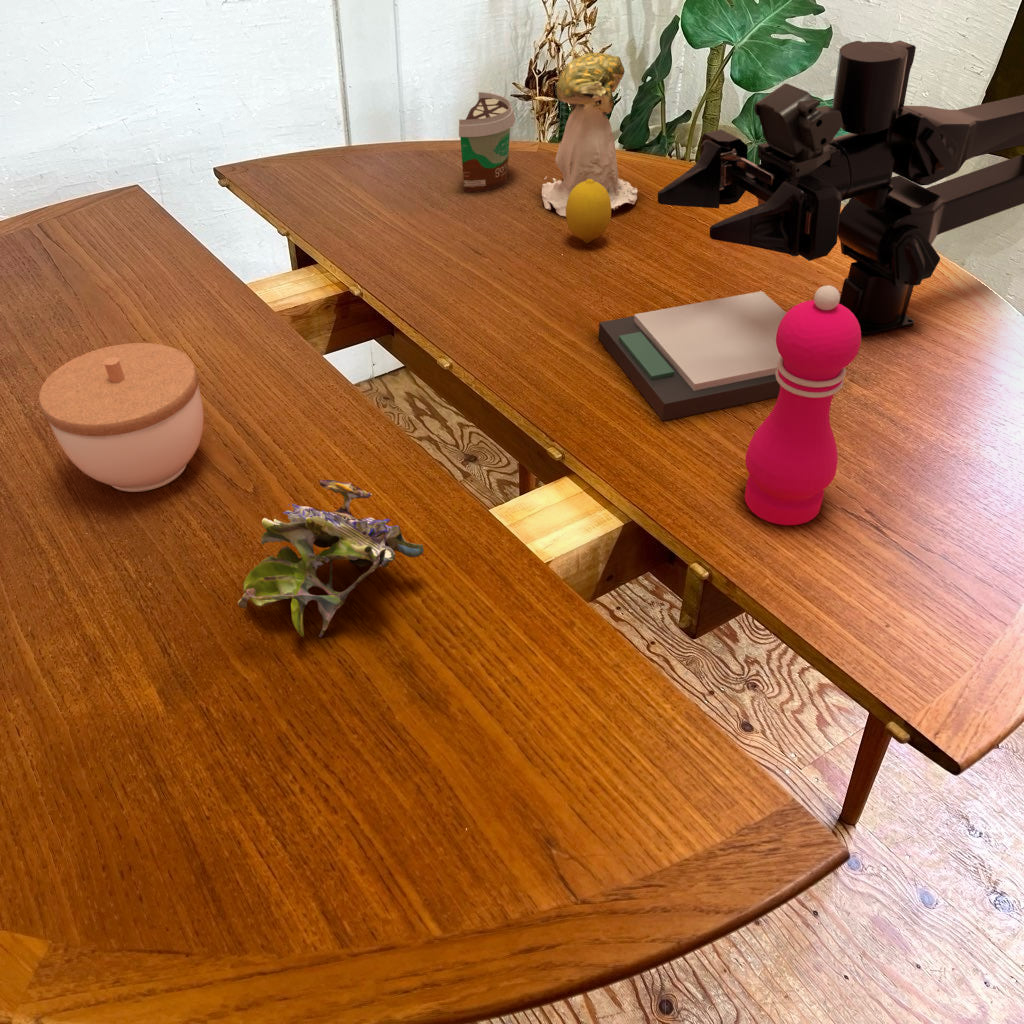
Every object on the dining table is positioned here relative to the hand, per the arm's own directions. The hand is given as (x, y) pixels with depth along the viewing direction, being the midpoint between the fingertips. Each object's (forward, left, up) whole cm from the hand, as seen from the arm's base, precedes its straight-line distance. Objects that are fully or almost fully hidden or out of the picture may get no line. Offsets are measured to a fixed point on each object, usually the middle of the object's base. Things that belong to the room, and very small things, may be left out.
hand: (683, 214), depth 86 cm
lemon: (-3, -30, -17) cm, 35 cm away
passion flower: (+38, +21, -17) cm, 46 cm away
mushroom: (-8, -42, -17) cm, 46 cm away
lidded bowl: (+51, -1, -17) cm, 53 cm away
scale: (-5, 0, -16) cm, 17 cm away
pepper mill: (0, +22, -17) cm, 27 cm away
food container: (+2, -53, -17) cm, 56 cm away
